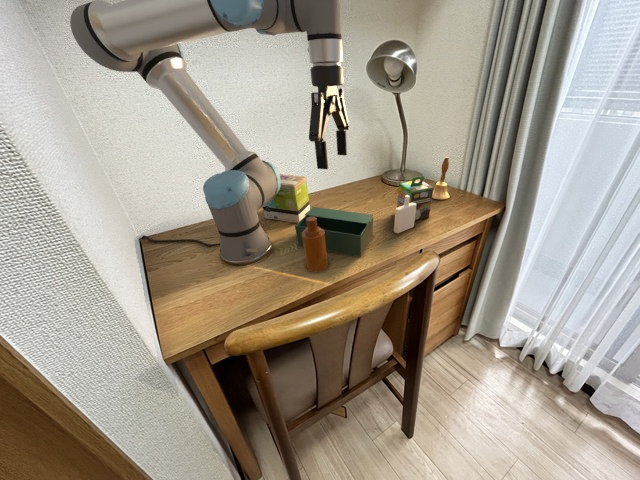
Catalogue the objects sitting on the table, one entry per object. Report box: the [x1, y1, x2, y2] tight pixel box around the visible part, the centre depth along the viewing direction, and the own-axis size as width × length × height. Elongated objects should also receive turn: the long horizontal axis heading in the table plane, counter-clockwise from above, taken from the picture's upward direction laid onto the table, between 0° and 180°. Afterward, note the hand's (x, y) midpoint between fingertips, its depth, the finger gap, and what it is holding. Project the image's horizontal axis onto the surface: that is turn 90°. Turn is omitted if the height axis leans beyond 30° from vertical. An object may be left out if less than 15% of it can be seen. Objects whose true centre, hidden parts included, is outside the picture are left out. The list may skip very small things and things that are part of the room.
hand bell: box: [432, 156, 450, 201], centre depth 107 cm, size 8×8×16 cm
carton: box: [294, 216, 374, 257], centre depth 83 cm, size 21×13×7 cm, turn 70°
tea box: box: [261, 173, 311, 224], centre depth 97 cm, size 15×10×15 cm, turn 72°
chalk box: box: [396, 175, 435, 221], centre depth 94 cm, size 9×9×15 cm
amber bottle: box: [302, 217, 329, 273], centre depth 70 cm, size 6×6×15 cm
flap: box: [305, 206, 374, 224], centre depth 83 cm, size 21×6×1 cm, turn 70°
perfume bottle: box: [393, 195, 416, 234], centre depth 86 cm, size 8×2×12 cm, turn 124°
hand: (333, 161), depth 72 cm, fingers open, 13 cm apart
